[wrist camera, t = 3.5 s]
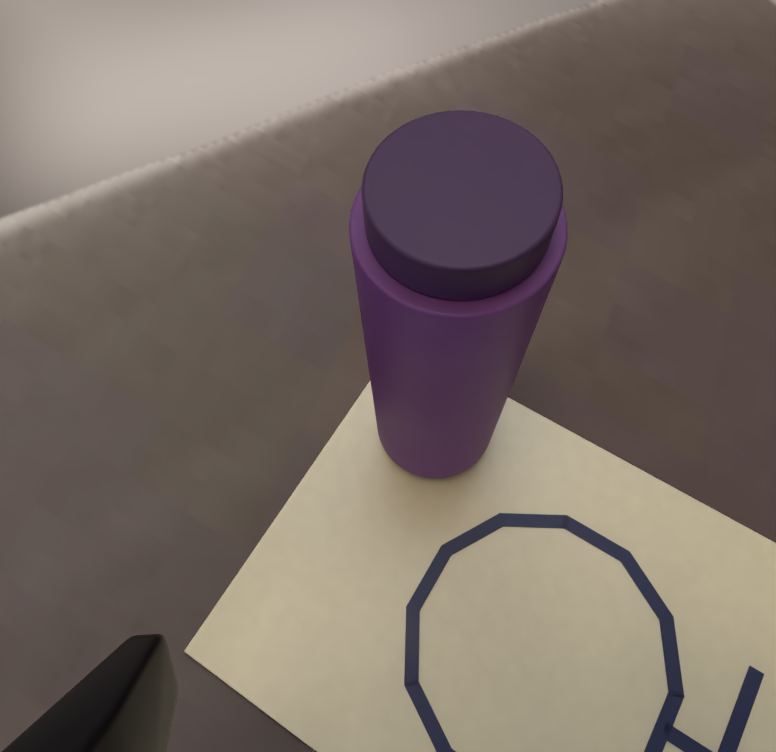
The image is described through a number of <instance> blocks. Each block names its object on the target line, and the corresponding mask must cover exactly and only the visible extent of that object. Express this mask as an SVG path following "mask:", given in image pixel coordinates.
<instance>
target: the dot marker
mask: <svg viewBox="0 0 776 752" xmlns="http://www.w3.org/2000/svg"><path fill="white" fill-rule="evenodd" d="M562 203H563V185H562V179H561V175H560V172H559V169H558V167H557V164H556V162H555V160H554V159H553V157H552V155H551V154H550V152H549V151H548V150H547V148H546V147H545V146H544V145H543V144H542V143H541V142H540V141H539V140H538V139H537V138H536V137H535V136H534V135H532V134H531V133H530V132H529V131H527V130H526V129H524V128H522V127H521V126H519V125H517V124H515V123H513V122H511V121H509V120H507V119H504V118H501V117H498V116H495V115H491V114H487V113H482V112H475V111H446V112H439V113H434V114H430V115H426V116H423V117H420V118H417V119H415V120H412V121H410V122H408V123H406V124H404V125H403V126H401V127H400V128H398V129H396V130H395V131H393V132H392V133H391V134H390V135H389V136H387V137H386V138H385V139H384V140H383V141H382V142H381V144H380V145H379V146H378V147H377V148H376V150H375V151H374V153H373V154H372V156H371V158H370V160H369V162H368V164H367V166H366V169H365V172H364V175H363V181H362V187H361V188H360V190H359V192H358V194H357V196H356V198H355V200H354V203H353V206H352V209H351V214H350V221H349V236H350V242H351V249H352V256H353V263H354V270H355V277H356V284H357V291H358V298H359V305H360V312H361V319H362V325H363V332H364V339H365V346H366V353H367V360H368V367H369V374H370V381H371V388H372V395H373V401H374V408H375V415H376V422H377V429H378V435H379V438H380V441H381V444H382V446H383V448H384V449H385V451H386V453H387V454H388V455H389V457H390V458H391V459H392V460H393V461H394V462H395V463H396V464H397V465H398V466H400V467H401V468H403V469H404V470H406V471H408V472H410V473H412V474H415V475H418V476H421V477H426V478H445V477H451V476H454V475H457V474H459V473H462V472H464V471H465V470H467V469H469V468H470V467H472V466H473V465H474V464H475V463H476V462H477V461H478V460H479V459H480V458H481V457H482V455H483V454H484V452H485V451H486V449H487V447H488V445H489V442H490V440H491V437H492V435H493V432H494V430H495V427H496V425H497V422H498V420H499V417H500V415H501V412H502V410H503V407H504V405H505V402H506V400H507V397H508V395H509V392H510V390H511V387H512V385H513V382H514V380H515V377H516V375H517V372H518V369H519V367H520V364H521V362H522V359H523V357H524V354H525V352H526V349H527V347H528V344H529V342H530V339H531V337H532V334H533V332H534V329H535V327H536V324H537V322H538V319H539V317H540V314H541V312H542V309H543V307H544V304H545V302H546V299H547V296H548V294H549V291H550V289H551V286H552V284H553V281H554V279H555V276H556V274H557V271H558V269H559V266H560V264H561V261H562V258H563V255H564V252H565V249H566V243H567V220H566V214H565V211H564V208H563V205H562Z"/></svg>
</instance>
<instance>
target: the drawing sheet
mask: <svg viewBox="0 0 776 752" xmlns="http://www.w3.org/2000/svg"><path fill="white" fill-rule="evenodd" d="M184 652H185V653H187V654H188V655H189V656H191V657H192V658H193V659H195V660H196V661H197V662H199V663H200V664H201V665H203V666H204V667H205V668H207V669H208V670H209V671H211V672H212V673H213V674H215V675H216V676H217V677H219V678H220V679H221V680H222V681H224V682H225V683H226V684H228V685H229V686H230V687H232V688H233V689H234V690H236V691H237V692H238V693H240V694H241V695H242V696H244V697H245V698H246V699H248V700H249V701H250V702H252V703H253V704H254V705H256V706H257V707H258V708H260V709H261V710H262V711H264V712H265V713H266V714H268V715H269V716H270V717H271V718H273V719H274V720H275V721H277V722H278V723H279V724H281V725H282V726H283V727H285V728H286V729H287V730H289V731H290V732H291V733H293V734H294V735H295V736H297V737H298V738H299V739H301V740H302V741H303V742H305V743H306V744H307V745H309V746H310V747H311V748H313V749H314V750H315V751H317V752H776V543H774V542H773V541H771V540H769V539H767V538H765V537H763V536H762V535H760V534H758V533H756V532H754V531H752V530H751V529H749V528H747V527H745V526H743V525H741V524H740V523H738V522H736V521H734V520H732V519H730V518H729V517H727V516H725V515H723V514H721V513H719V512H718V511H716V510H714V509H712V508H710V507H708V506H707V505H705V504H703V503H701V502H699V501H697V500H695V499H694V498H692V497H690V496H688V495H686V494H684V493H683V492H681V491H679V490H677V489H675V488H673V487H672V486H670V485H668V484H666V483H664V482H662V481H661V480H659V479H657V478H655V477H653V476H651V475H650V474H648V473H646V472H644V471H642V470H640V469H639V468H637V467H635V466H633V465H631V464H629V463H628V462H626V461H624V460H622V459H620V458H618V457H617V456H615V455H613V454H611V453H609V452H607V451H605V450H604V449H602V448H600V447H598V446H596V445H594V444H593V443H591V442H589V441H587V440H585V439H583V438H582V437H580V436H578V435H576V434H574V433H572V432H571V431H569V430H567V429H565V428H563V427H561V426H560V425H558V424H556V423H554V422H552V421H550V420H549V419H547V418H545V417H543V416H541V415H539V414H538V413H536V412H534V411H532V410H530V409H528V408H527V407H525V406H523V405H521V404H519V403H517V402H515V401H514V400H512V399H510V398H508V397H507V400H506V402H505V405H504V407H503V410H502V412H501V415H500V417H499V420H498V422H497V425H496V427H495V430H494V432H493V435H492V437H491V440H490V442H489V445H488V447H487V449H486V451H485V452H484V454H483V455H482V457H481V458H480V459H479V460H478V461H477V462H476V463H475V464H474V465H473V466H472V467H470V468H469V469H467V470H465V471H464V472H462V473H459V474H457V475H454V476H451V477H445V478H426V477H421V476H418V475H415V474H412V473H410V472H408V471H406V470H404V469H403V468H401V467H400V466H398V465H397V464H396V463H395V462H394V461H393V460H392V459H391V458H390V457H389V455H388V454H387V453H386V451H385V449H384V448H383V446H382V444H381V441H380V438H379V435H378V429H377V422H376V415H375V408H374V401H373V395H372V388H371V381H370V382H369V383H368V384H367V386H366V387H365V389H364V390H363V392H362V393H361V395H360V396H359V398H358V399H357V400H356V402H355V403H354V405H353V406H352V408H351V409H350V411H349V412H348V414H347V415H346V416H345V418H344V419H343V421H342V422H341V424H340V425H339V427H338V428H337V430H336V431H335V432H334V434H333V435H332V437H331V438H330V440H329V441H328V443H327V444H326V446H325V447H324V448H323V450H322V451H321V453H320V454H319V456H318V457H317V459H316V460H315V462H314V463H313V464H312V466H311V467H310V469H309V470H308V472H307V473H306V475H305V476H304V478H303V479H302V480H301V482H300V483H299V485H298V486H297V488H296V489H295V491H294V492H293V494H292V495H291V496H290V498H289V499H288V501H287V502H286V504H285V505H284V507H283V508H282V510H281V511H280V512H279V514H278V515H277V517H276V518H275V520H274V521H273V523H272V524H271V526H270V527H269V528H268V530H267V531H266V533H265V534H264V536H263V537H262V539H261V540H260V542H259V543H258V544H257V546H256V547H255V549H254V550H253V552H252V553H251V555H250V556H249V558H248V559H247V560H246V562H245V563H244V565H243V566H242V568H241V569H240V571H239V572H238V574H237V575H236V576H235V578H234V579H233V581H232V582H231V584H230V585H229V587H228V588H227V590H226V591H225V592H224V594H223V595H222V597H221V598H220V600H219V601H218V603H217V604H216V606H215V607H214V608H213V610H212V611H211V613H210V614H209V616H208V617H207V619H206V620H205V622H204V623H203V624H202V626H201V627H200V629H199V630H198V632H197V633H196V635H195V636H194V638H193V639H192V640H191V642H190V643H189V645H188V646H187V648H186V649H185V651H184Z"/></svg>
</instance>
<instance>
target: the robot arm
mask: <svg viewBox="0 0 776 752" xmlns="http://www.w3.org/2000/svg"><path fill="white" fill-rule="evenodd" d="M177 694H178V685H177V678H176V674H175V670H174V666H173V662H172V658H171V653H170V649H169V645H168V642H167V640H166V638H165V637H164V636H163V635H160V634H152V635H136V636H132V637H130V638H129V639H127V640H126V641H125V642H124V643H123V644H122V645H120V646H119V647H118V648H117V649H116V650H115V651H114V652H113V653H111V654H110V655H109V656H108V657H107V658H106V659H105V660H104V661H103V662H101V663H100V664H99V665H98V666H97V667H96V668H95V669H94V670H93V671H91V672H90V673H89V674H88V675H87V676H86V677H85V678H84V679H82V680H81V681H80V682H79V683H78V684H77V685H76V686H75V687H74V688H72V689H71V690H70V691H69V692H68V693H67V694H66V695H65V696H63V697H62V698H61V699H60V700H59V701H58V702H57V703H56V704H55V705H53V706H52V707H51V708H50V709H49V710H48V711H47V712H46V713H44V714H43V715H42V716H41V717H40V718H39V719H38V720H37V721H36V722H34V723H33V724H32V725H31V726H30V727H29V728H28V729H27V730H26V731H24V732H23V733H22V734H21V735H20V736H19V737H18V738H17V739H15V740H14V741H13V742H12V743H11V744H10V745H9V746H8V747H7V748H5V749H4V750H3V751H2V752H166V749H167V744H168V740H169V735H170V730H171V725H172V721H173V716H174V711H175V706H176V701H177Z"/></svg>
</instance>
